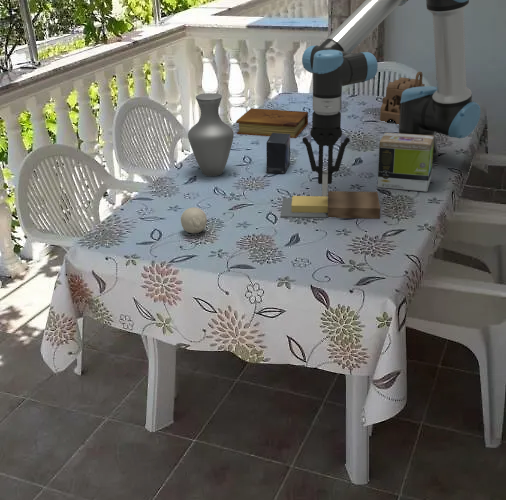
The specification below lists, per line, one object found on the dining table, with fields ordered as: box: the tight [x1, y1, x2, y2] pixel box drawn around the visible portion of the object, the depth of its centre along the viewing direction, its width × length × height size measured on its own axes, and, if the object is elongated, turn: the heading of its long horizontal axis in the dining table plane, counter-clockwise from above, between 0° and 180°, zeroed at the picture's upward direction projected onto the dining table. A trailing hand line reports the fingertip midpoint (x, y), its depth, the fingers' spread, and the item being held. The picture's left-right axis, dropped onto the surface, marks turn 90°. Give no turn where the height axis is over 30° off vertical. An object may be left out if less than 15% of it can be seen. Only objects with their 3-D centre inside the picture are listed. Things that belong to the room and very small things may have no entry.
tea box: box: [377, 132, 434, 193], centre depth 207 cm, size 15×10×15 cm, turn 71°
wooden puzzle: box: [379, 71, 426, 125], centre depth 271 cm, size 22×15×19 cm, turn 143°
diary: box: [236, 107, 309, 139], centre depth 264 cm, size 23×19×6 cm
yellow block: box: [291, 195, 328, 214], centre depth 194 cm, size 10×7×2 cm
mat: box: [280, 197, 327, 219], centre depth 195 cm, size 12×13×1 cm
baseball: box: [180, 207, 208, 234], centre depth 181 cm, size 7×7×7 cm
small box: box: [265, 133, 291, 175], centre depth 223 cm, size 11×6×10 cm, turn 168°
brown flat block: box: [327, 190, 381, 220], centre depth 193 cm, size 14×12×3 cm
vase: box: [187, 92, 235, 177], centre depth 218 cm, size 14×14×25 cm
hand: (324, 194), depth 193 cm, fingers closed
